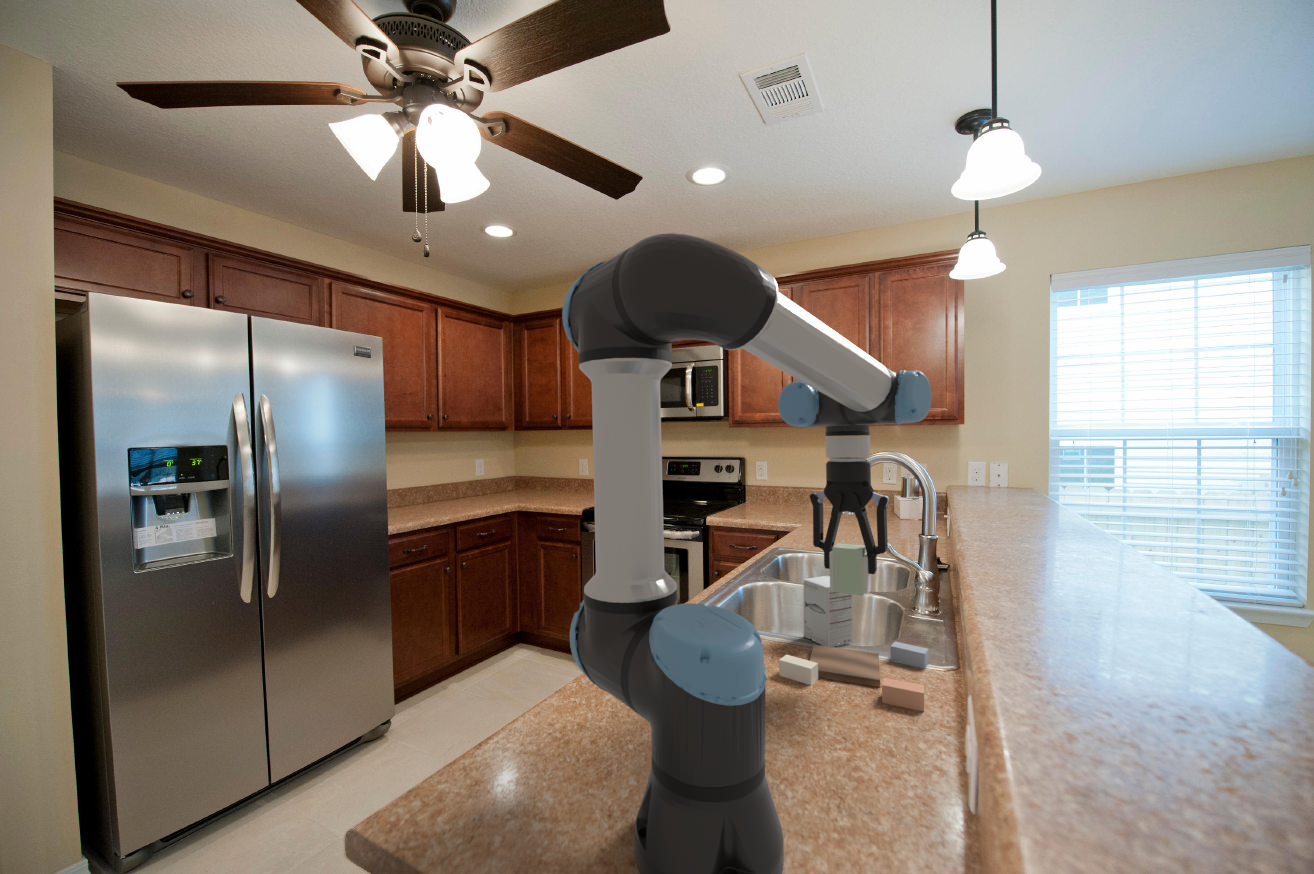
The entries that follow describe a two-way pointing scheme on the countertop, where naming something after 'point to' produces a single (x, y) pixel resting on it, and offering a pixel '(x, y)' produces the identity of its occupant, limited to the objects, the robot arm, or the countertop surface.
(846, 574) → the sage brick
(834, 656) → the walnut board
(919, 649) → the slate brick
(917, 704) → the terracotta brick
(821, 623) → the supplement box
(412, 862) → the countertop surface
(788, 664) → the cream brick
